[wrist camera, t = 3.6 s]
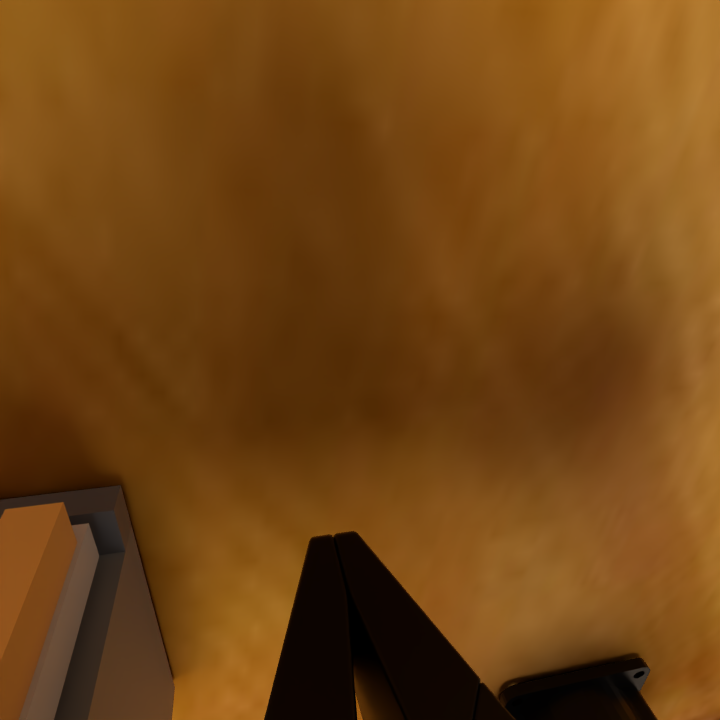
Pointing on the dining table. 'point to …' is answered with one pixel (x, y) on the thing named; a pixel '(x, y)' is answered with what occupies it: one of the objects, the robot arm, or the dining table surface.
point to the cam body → (112, 620)
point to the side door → (40, 605)
